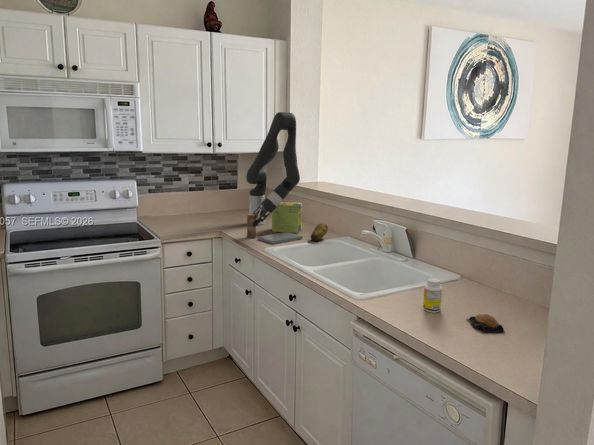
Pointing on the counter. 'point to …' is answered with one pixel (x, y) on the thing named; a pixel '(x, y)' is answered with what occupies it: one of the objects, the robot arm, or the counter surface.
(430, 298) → the supplement bottle
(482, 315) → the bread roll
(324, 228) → the potato
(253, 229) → the walnut roller
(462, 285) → the counter surface
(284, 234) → the slate board
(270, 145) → the robot arm
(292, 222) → the protein box
